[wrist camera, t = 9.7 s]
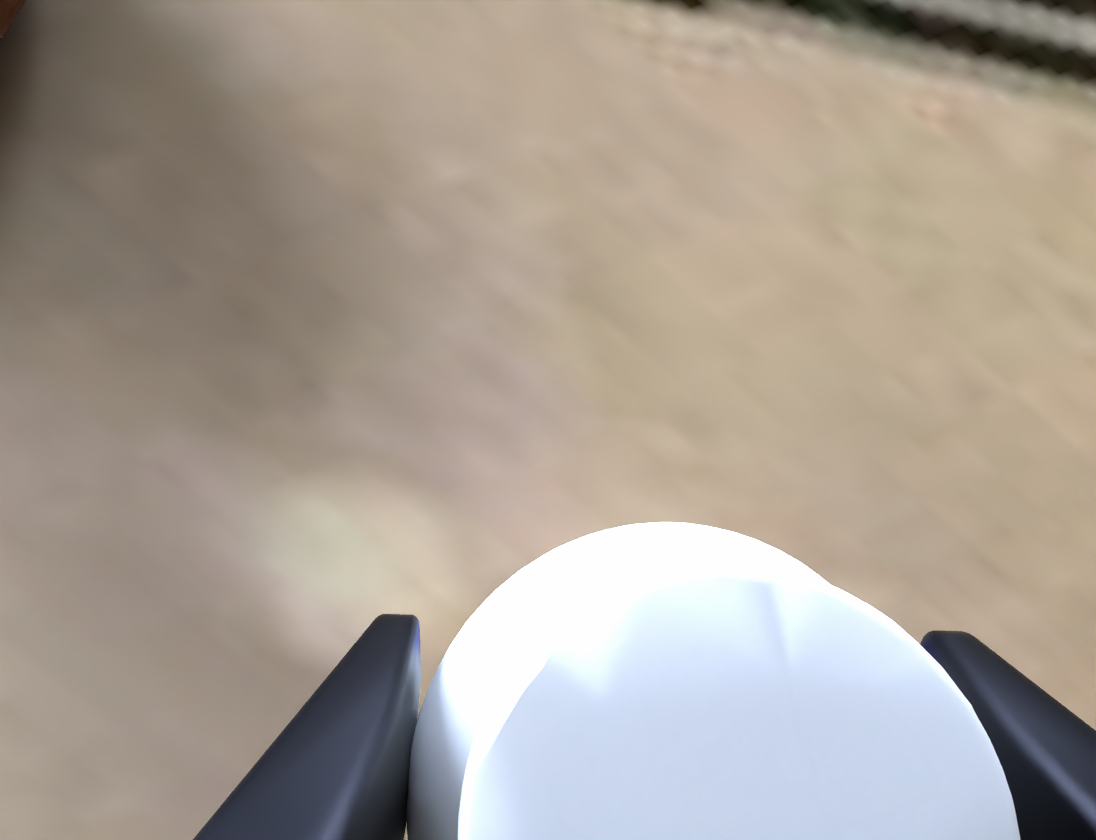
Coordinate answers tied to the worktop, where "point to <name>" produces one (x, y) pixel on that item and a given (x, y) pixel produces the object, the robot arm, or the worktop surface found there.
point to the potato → (8, 13)
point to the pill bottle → (694, 707)
